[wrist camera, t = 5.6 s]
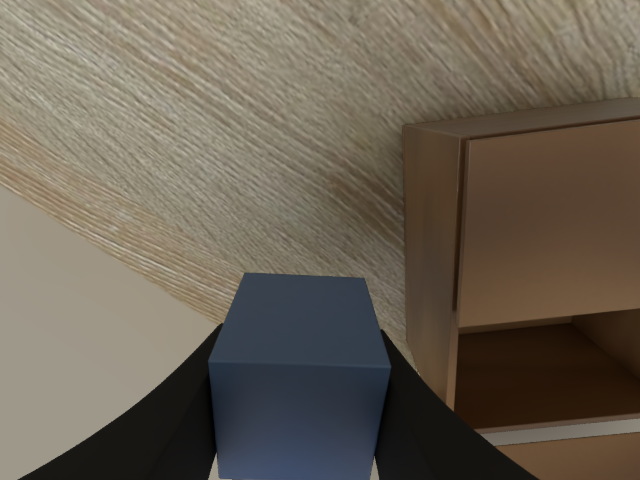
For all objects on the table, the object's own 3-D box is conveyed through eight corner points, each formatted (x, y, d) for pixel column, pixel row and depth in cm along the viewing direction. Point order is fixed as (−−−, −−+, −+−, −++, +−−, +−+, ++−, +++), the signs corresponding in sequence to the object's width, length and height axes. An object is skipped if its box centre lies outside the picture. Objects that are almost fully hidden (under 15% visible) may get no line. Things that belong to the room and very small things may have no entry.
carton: (571, 322, 23) (696, 427, 15) (406, 340, 23) (450, 451, 16) (621, 97, 17) (858, 91, 10) (402, 125, 18) (468, 139, 10)
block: (364, 277, 12) (392, 366, 8) (353, 369, 14) (370, 482, 10) (244, 271, 12) (206, 360, 8) (247, 365, 14) (218, 480, 9)
